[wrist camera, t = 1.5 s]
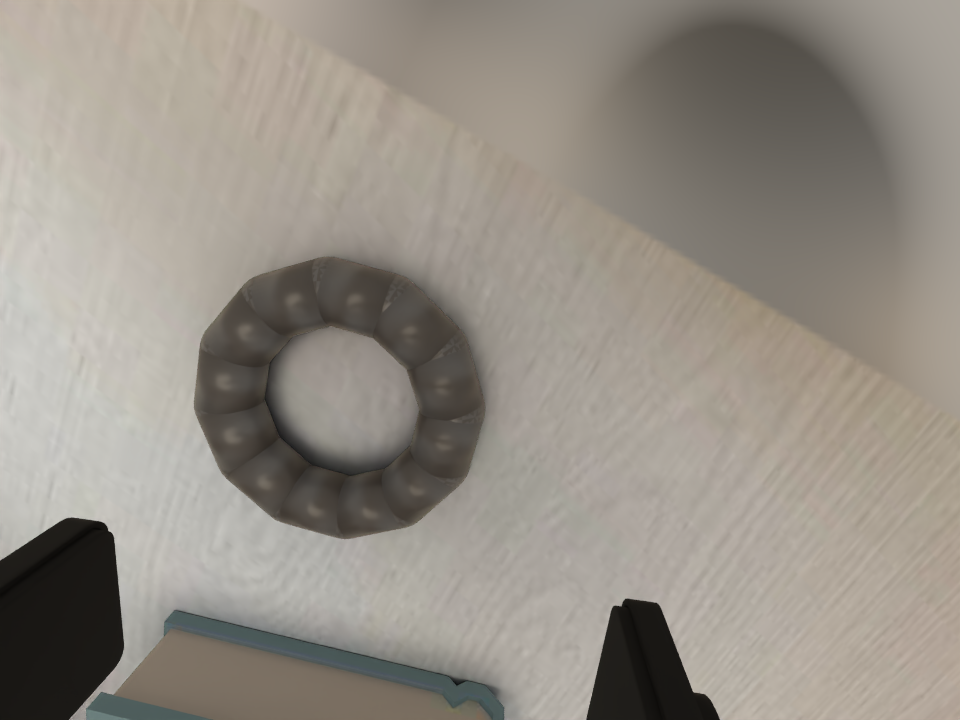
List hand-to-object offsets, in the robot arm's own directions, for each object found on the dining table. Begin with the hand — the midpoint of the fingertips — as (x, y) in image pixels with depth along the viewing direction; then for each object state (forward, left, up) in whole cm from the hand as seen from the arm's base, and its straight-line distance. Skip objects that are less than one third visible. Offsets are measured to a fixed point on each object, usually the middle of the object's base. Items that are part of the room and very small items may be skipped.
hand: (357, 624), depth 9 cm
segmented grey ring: (0, -4, -10) cm, 11 cm away
